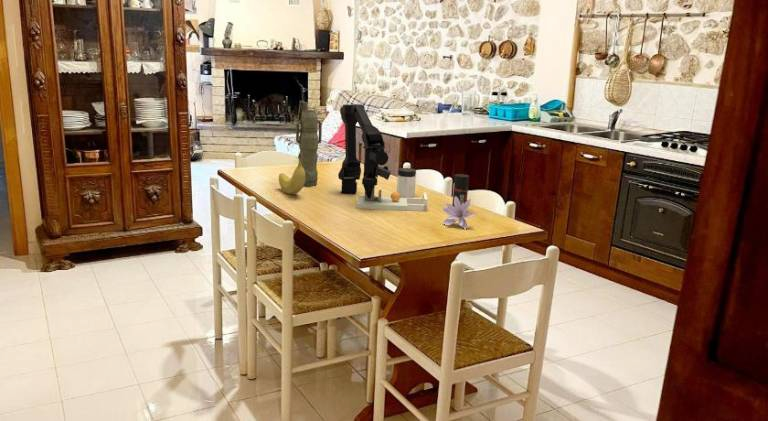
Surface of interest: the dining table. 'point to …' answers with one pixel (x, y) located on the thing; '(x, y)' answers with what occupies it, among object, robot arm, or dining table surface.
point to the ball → (395, 196)
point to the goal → (417, 203)
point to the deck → (382, 204)
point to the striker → (373, 196)
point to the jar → (406, 182)
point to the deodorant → (460, 188)
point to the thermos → (309, 145)
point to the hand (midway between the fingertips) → (369, 197)
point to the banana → (293, 179)
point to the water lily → (457, 212)
